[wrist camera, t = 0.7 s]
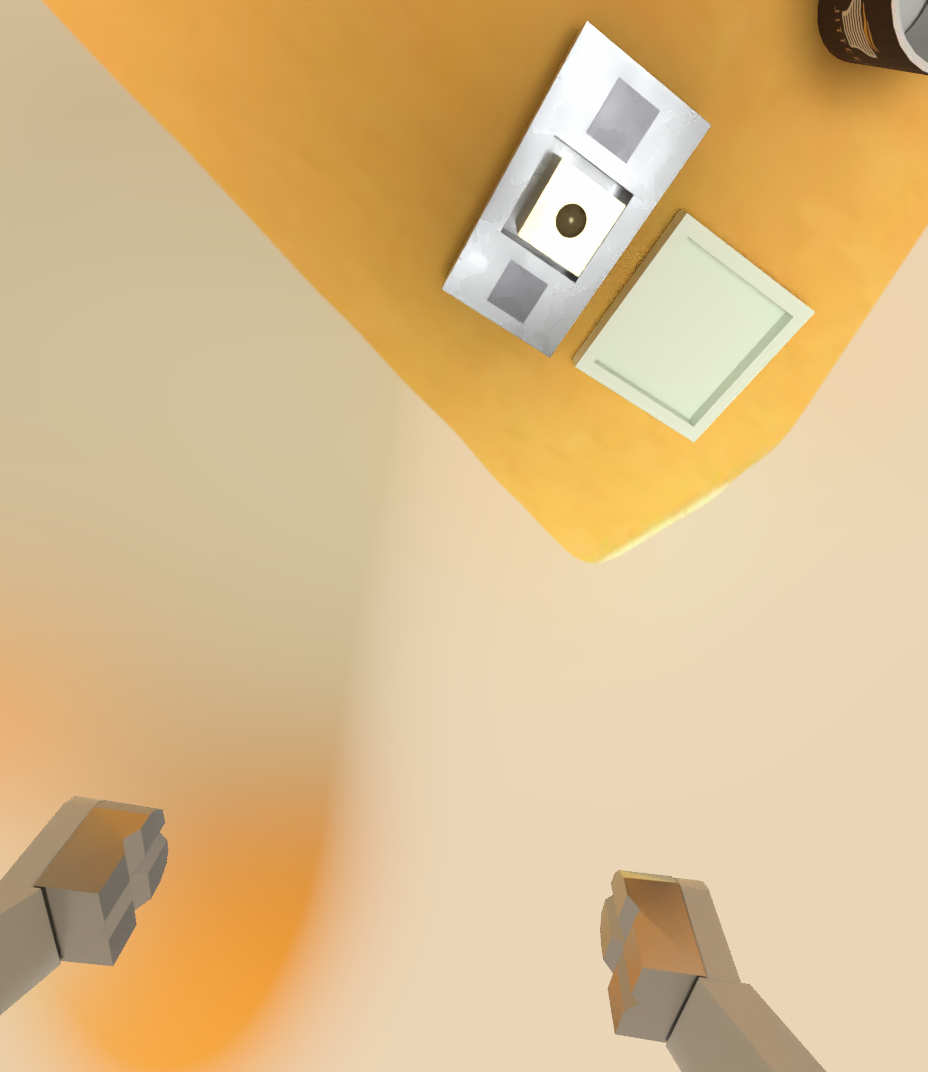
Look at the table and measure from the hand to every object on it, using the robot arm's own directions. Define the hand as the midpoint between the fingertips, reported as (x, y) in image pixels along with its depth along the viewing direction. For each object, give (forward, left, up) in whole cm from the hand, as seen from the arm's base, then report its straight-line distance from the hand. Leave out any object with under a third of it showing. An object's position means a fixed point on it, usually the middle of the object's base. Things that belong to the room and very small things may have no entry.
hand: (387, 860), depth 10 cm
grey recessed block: (-8, +2, -41) cm, 42 cm away
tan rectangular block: (-8, +2, -40) cm, 41 cm away
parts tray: (-6, +15, -41) cm, 44 cm away
